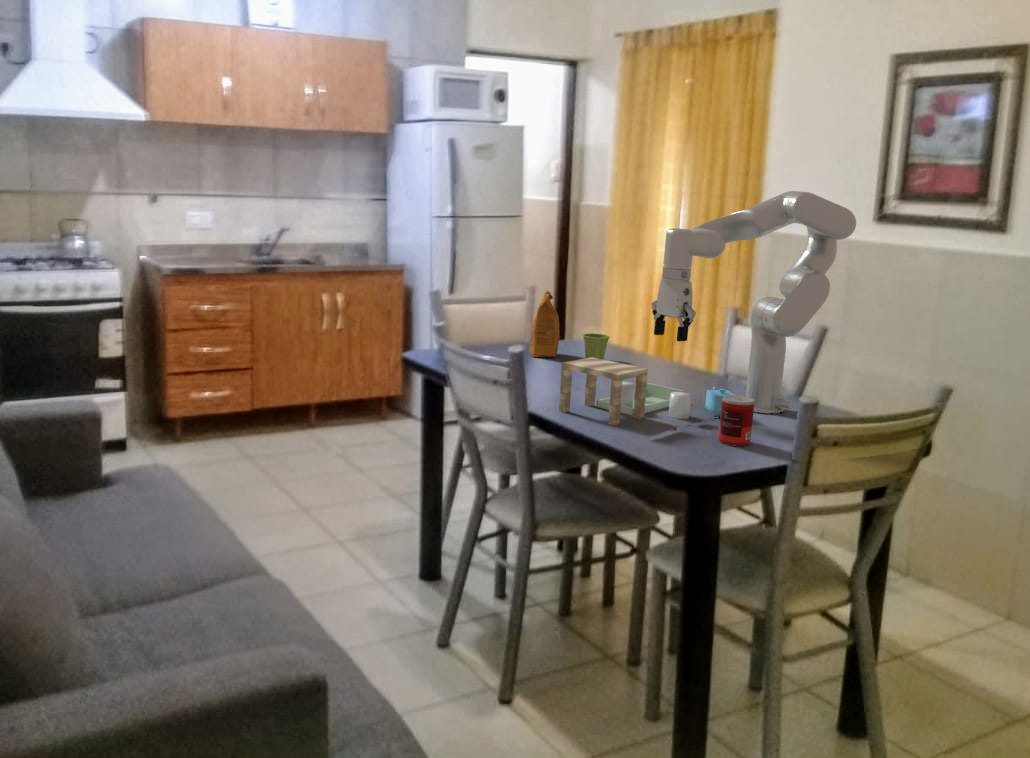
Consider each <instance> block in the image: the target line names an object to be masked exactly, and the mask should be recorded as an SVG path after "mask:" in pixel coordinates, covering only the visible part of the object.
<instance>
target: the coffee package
mask: <svg viewBox="0 0 1030 758" xmlns="http://www.w3.org/2000/svg"><path fill="white" fill-rule="evenodd" d="M553 299H554V297H553V295H552V293H551V292H550V291H549V290H546V291H545V292H544V293H543V297H542V299H541V302H540V304H539V306H538V308H537V309H536V310H537V311H536V314H535V317H534V320H533V323H532V326H531V332H530V342H529V352H530V353H529V354H530V355H531V356H532V357H533V358H551V357H552V358H553V357H557V355H558V352H559V351H558V350H559V345H560V335H561V334H560V332H561V331H560V318H559V314H558V312H557V310H556V309H555V307H554V305H553V304H552V302H551V300H553Z"/></svg>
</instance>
